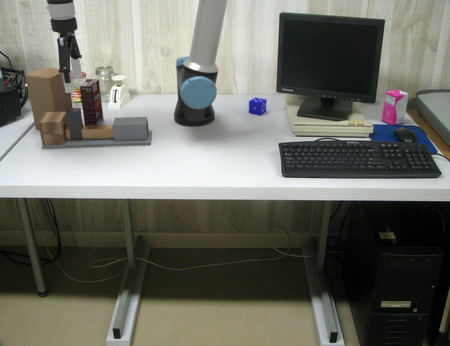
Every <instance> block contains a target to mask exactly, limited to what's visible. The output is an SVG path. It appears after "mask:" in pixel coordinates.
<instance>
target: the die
mask: <svg viewBox="0 0 450 346" xmlns="http://www.w3.org/2000/svg"><path fill="white" fill-rule="evenodd" d="M266 112H267V98H266V99H265V98H261V97H253V98H252V99H250V100H249V101H248V114H251V115H256V116H262V115H263V114H264V113H266Z"/></svg>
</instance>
